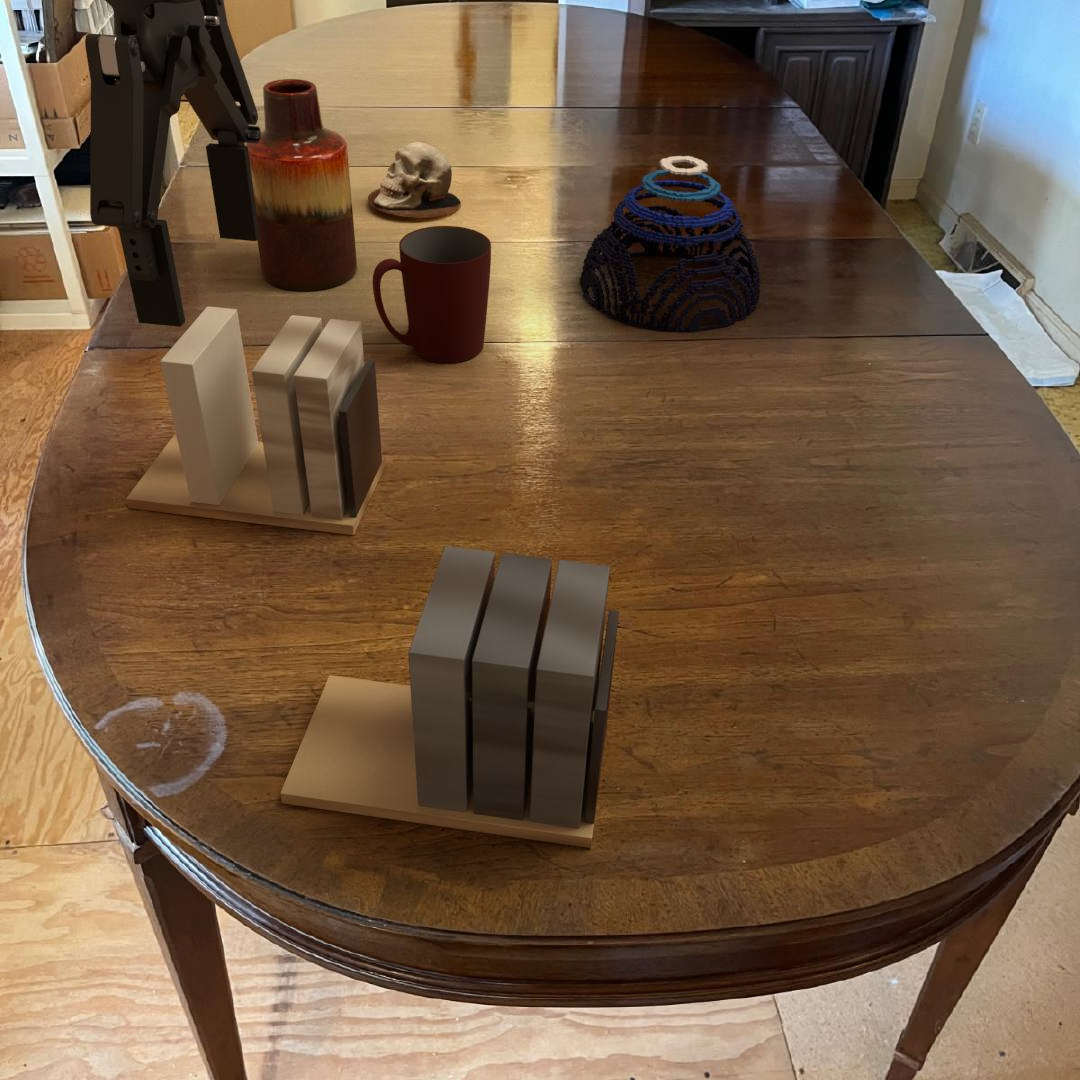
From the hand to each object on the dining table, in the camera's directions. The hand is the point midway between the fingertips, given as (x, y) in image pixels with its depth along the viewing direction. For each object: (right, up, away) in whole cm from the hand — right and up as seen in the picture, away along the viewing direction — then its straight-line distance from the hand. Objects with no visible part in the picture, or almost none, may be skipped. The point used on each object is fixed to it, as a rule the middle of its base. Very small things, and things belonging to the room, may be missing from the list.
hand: (204, 277), depth 71 cm
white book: (-4, -12, +18) cm, 22 cm away
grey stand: (+17, -32, -4) cm, 36 cm away
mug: (+12, +2, +38) cm, 40 cm away
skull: (+6, +26, +67) cm, 72 cm away
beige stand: (-1, -13, +18) cm, 23 cm away
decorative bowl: (+37, +11, +50) cm, 64 cm away
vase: (-4, +13, +51) cm, 53 cm away
